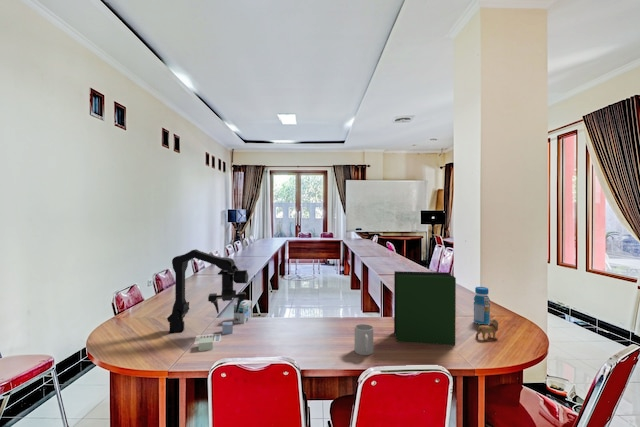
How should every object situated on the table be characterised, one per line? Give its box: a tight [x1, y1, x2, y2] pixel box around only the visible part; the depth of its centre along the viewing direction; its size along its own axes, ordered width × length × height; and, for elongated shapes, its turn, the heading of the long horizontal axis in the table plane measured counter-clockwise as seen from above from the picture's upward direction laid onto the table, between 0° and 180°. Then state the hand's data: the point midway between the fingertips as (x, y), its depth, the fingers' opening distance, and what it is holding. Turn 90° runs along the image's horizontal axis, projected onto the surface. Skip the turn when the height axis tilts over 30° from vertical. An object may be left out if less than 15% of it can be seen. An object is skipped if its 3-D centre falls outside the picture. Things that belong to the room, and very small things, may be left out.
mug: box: [353, 323, 374, 356], centre depth 150 cm, size 12×8×11 cm
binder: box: [393, 270, 457, 346], centre depth 168 cm, size 27×15×32 cm, turn 83°
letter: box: [193, 333, 222, 345], centre depth 165 cm, size 12×11×1 cm
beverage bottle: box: [473, 286, 491, 325], centre depth 191 cm, size 8×8×20 cm
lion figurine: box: [475, 318, 499, 341], centre depth 168 cm, size 15×5×9 cm, turn 118°
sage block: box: [198, 337, 214, 352], centre depth 154 cm, size 6×6×4 cm
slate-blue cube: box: [221, 320, 234, 335], centre depth 174 cm, size 5×5×5 cm
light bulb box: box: [233, 299, 253, 325], centre depth 194 cm, size 11×7×11 cm, turn 168°
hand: (227, 313), depth 174 cm, fingers open, 9 cm apart
